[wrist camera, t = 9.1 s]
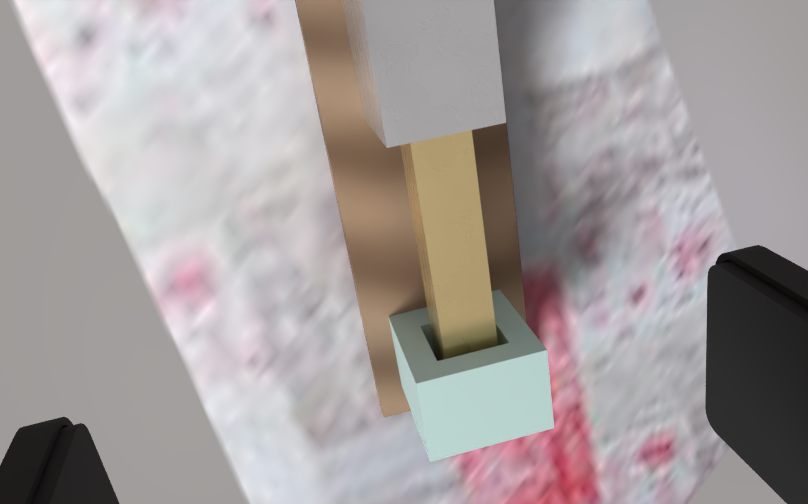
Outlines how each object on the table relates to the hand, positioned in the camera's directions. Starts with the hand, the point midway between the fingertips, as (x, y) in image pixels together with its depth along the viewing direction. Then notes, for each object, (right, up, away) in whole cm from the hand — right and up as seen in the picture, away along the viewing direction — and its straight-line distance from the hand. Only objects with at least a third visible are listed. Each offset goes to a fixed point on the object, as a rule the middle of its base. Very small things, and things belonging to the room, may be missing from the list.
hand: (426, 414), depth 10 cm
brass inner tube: (+1, +5, +27) cm, 28 cm away
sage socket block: (+3, -3, +34) cm, 34 cm away
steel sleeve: (-1, +16, +25) cm, 30 cm away
